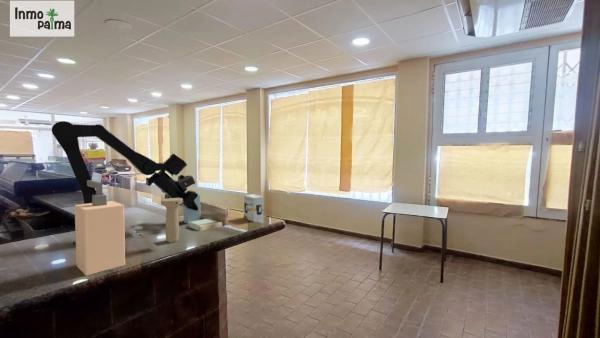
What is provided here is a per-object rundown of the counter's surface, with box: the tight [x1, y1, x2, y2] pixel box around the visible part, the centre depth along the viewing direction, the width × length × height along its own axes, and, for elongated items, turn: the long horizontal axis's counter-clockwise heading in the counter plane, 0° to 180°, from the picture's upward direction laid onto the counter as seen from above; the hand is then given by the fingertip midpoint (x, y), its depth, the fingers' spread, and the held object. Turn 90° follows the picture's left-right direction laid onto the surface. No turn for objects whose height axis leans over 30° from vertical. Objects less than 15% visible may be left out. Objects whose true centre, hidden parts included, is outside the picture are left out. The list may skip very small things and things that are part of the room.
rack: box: [178, 201, 229, 232], centre depth 112 cm, size 12×20×8 cm, turn 47°
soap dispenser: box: [74, 179, 126, 276], centre depth 74 cm, size 13×9×22 cm
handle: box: [160, 198, 183, 243], centre depth 89 cm, size 5×6×15 cm
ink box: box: [243, 193, 264, 224], centre depth 120 cm, size 9×5×12 cm, turn 42°
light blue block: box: [183, 194, 201, 225], centre depth 113 cm, size 5×4×12 cm
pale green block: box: [189, 218, 217, 231], centre depth 107 cm, size 8×6×2 cm
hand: (195, 209), depth 114 cm, fingers closed on light blue block, 4 cm apart
